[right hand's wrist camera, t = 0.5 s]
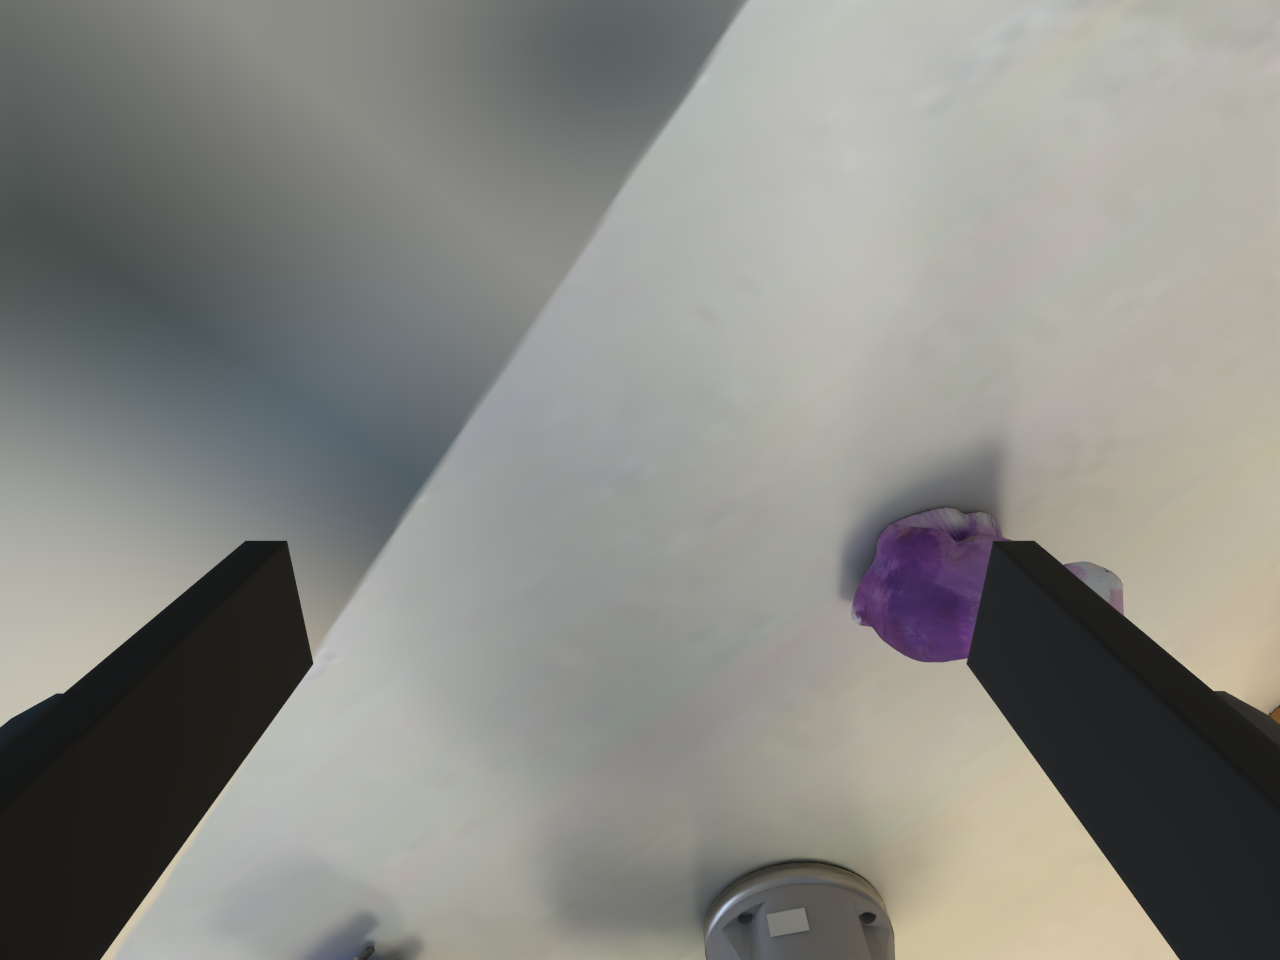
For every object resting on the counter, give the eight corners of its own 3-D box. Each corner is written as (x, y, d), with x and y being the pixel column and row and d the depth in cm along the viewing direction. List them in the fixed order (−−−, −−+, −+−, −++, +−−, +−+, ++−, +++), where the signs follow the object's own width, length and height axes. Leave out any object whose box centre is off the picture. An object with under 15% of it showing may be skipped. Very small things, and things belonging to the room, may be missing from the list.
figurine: (1034, 499, 42) (1229, 642, 28) (969, 634, 46) (1112, 820, 32) (891, 467, 41) (1019, 599, 27) (836, 607, 45) (924, 786, 31)
